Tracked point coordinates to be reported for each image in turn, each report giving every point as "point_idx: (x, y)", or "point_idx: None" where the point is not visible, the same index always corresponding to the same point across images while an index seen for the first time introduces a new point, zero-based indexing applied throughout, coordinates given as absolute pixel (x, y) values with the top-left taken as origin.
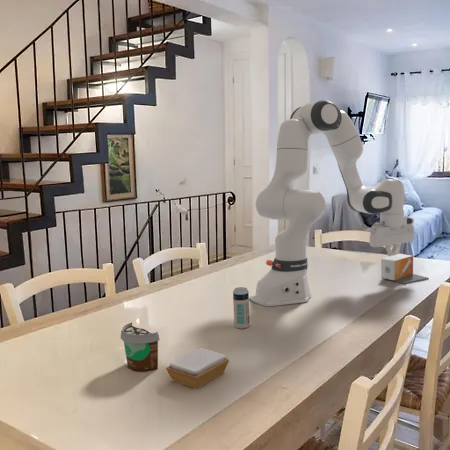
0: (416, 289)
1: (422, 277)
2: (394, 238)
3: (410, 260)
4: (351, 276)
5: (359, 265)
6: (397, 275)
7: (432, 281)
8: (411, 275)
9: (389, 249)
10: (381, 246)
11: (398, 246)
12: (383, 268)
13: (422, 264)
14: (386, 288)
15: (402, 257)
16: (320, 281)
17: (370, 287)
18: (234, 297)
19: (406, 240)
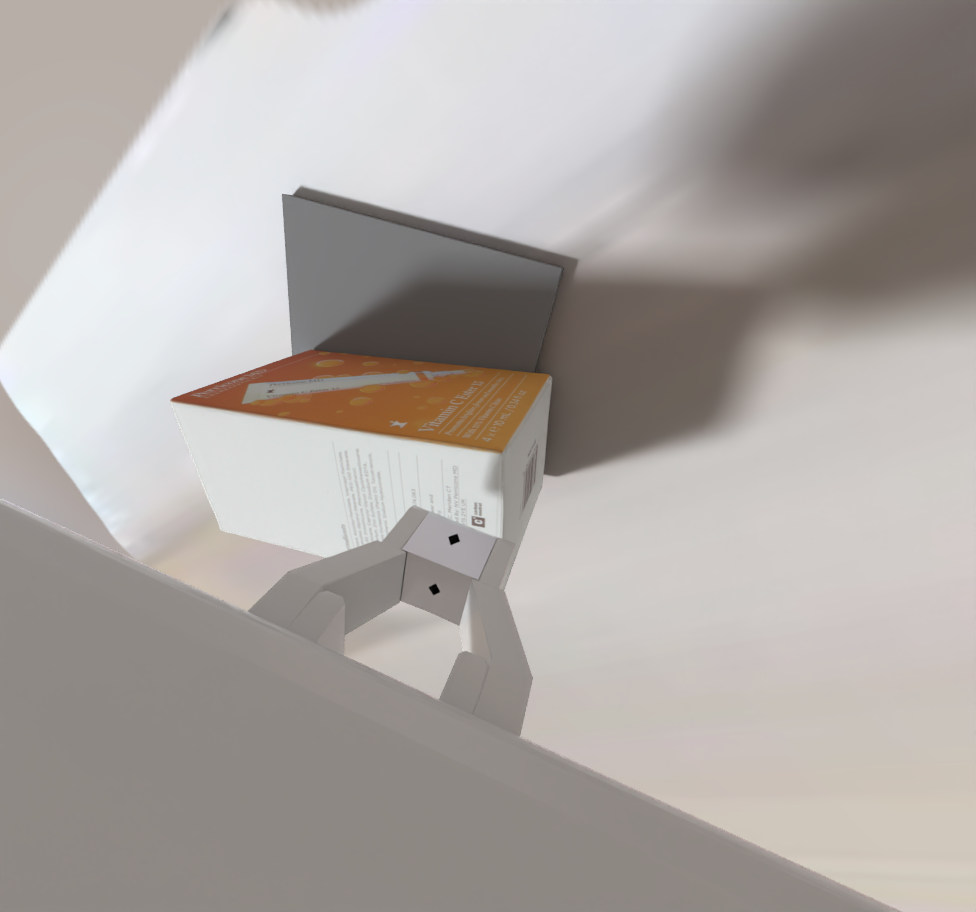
0: (694, 8)
1: (312, 243)
2: (275, 887)
3: (247, 390)
4: (591, 639)
5: (369, 653)
6: (499, 380)
7: (313, 115)
8: (333, 347)
9: (520, 640)
10: (828, 878)
11: (291, 571)
12: (525, 517)
13: (115, 430)
14: (822, 318)
15: (306, 453)
16: (830, 748)
17: (854, 452)
18: None
19: (3, 551)
